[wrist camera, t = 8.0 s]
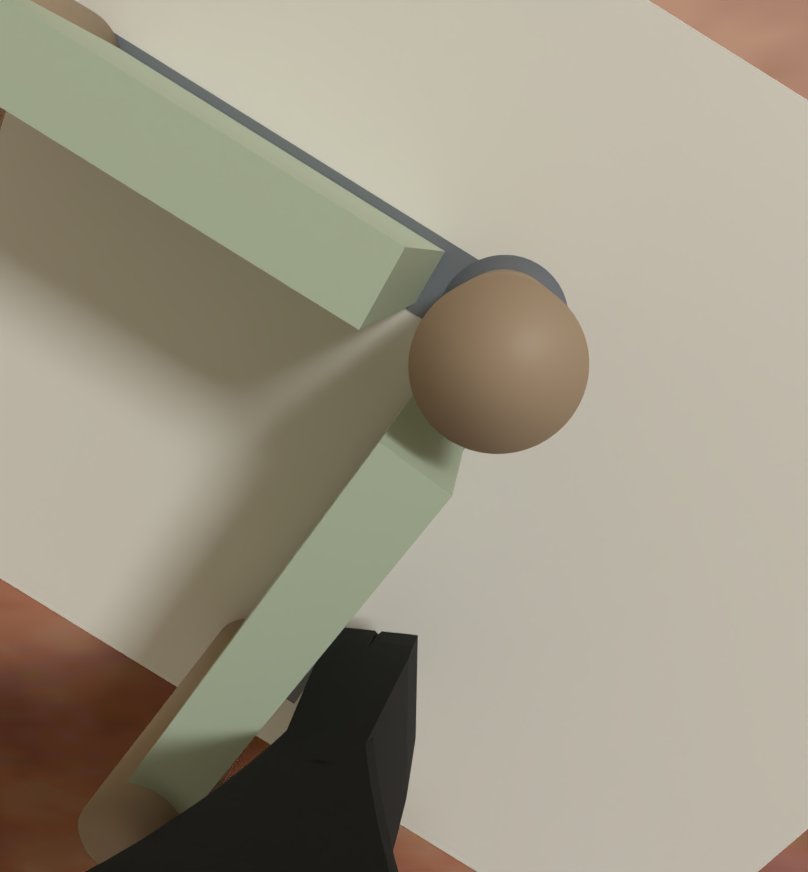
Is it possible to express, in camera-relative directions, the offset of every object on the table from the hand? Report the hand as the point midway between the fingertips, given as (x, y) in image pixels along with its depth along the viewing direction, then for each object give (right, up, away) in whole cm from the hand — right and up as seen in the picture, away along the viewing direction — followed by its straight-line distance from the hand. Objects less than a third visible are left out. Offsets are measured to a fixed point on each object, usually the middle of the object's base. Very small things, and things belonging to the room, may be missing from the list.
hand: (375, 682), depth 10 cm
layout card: (+1, +4, 0) cm, 4 cm away
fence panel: (-1, +2, 0) cm, 2 cm away
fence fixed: (-1, +8, -1) cm, 8 cm away
